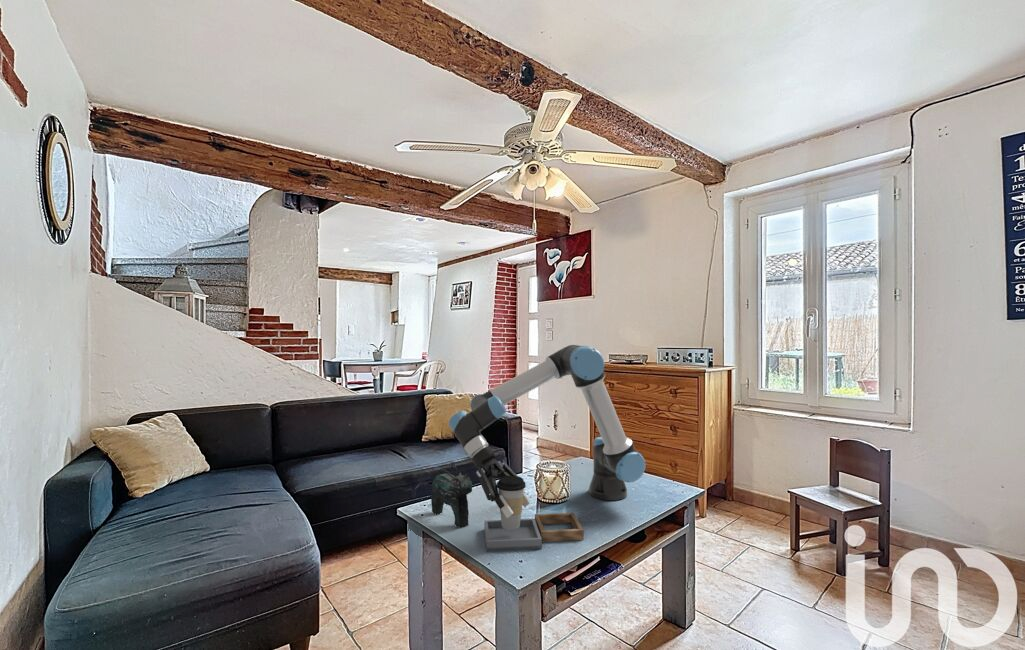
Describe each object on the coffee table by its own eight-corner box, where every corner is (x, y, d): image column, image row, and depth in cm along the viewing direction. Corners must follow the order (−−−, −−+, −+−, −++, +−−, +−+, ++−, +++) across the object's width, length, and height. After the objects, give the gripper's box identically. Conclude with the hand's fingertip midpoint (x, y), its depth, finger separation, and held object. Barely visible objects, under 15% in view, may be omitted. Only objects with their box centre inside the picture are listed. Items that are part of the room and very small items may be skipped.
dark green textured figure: (473, 526, 157) (474, 467, 157) (458, 532, 153) (458, 472, 153) (440, 508, 172) (441, 455, 171) (426, 513, 167) (426, 458, 167)
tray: (534, 527, 156) (534, 518, 156) (541, 548, 141) (541, 539, 141) (484, 529, 154) (484, 520, 154) (486, 551, 140) (486, 541, 140)
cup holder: (573, 521, 161) (573, 512, 161) (583, 539, 147) (583, 530, 147) (534, 522, 160) (534, 514, 160) (541, 541, 146) (541, 532, 146)
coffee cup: (500, 534, 142) (500, 486, 142) (493, 521, 151) (493, 476, 151) (529, 530, 145) (529, 483, 145) (520, 518, 154) (520, 473, 154)
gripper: (493, 451, 165) (530, 505, 157) (452, 467, 147) (491, 529, 138) (505, 438, 162) (544, 493, 154) (465, 453, 144) (506, 515, 135)
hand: (519, 510), depth 146 cm, fingers closed on coffee cup, 9 cm apart
